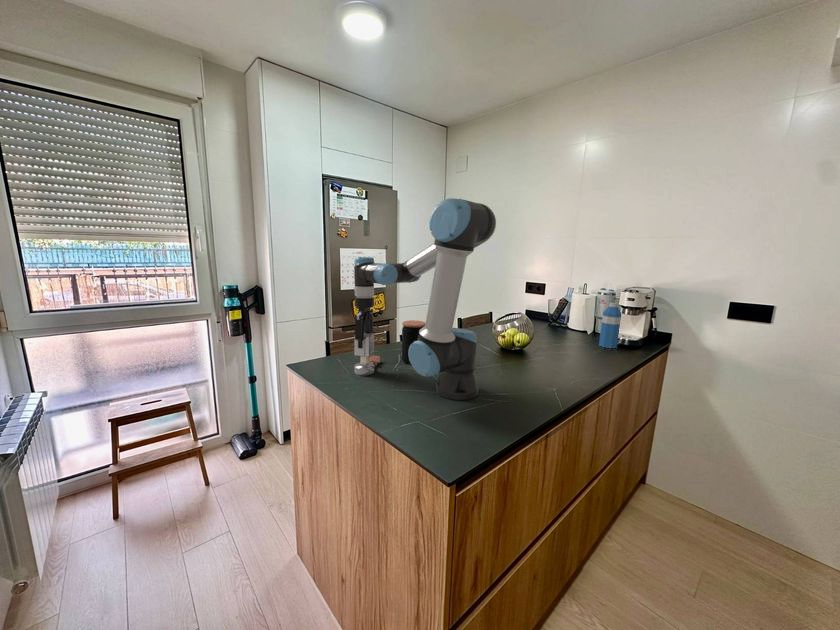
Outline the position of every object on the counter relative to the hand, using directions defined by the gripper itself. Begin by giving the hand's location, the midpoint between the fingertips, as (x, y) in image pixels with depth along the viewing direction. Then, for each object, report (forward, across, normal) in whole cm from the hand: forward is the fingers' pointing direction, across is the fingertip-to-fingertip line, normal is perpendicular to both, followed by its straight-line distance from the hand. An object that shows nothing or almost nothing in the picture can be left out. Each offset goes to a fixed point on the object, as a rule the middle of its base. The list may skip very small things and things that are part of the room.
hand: (364, 353), depth 134 cm
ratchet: (+8, -5, 0) cm, 10 cm away
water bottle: (+8, -75, +115) cm, 137 cm away
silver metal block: (0, 0, 0) cm, 0 cm away
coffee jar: (+8, -20, +16) cm, 27 cm away
